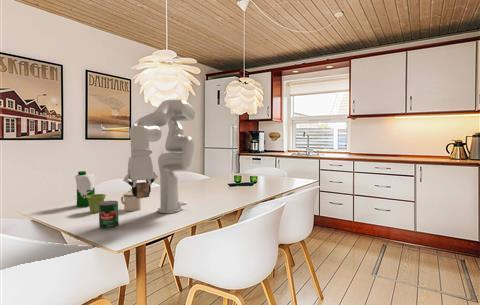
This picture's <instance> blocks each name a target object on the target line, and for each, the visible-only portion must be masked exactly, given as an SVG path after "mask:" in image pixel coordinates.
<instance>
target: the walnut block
mask: <svg viewBox="0 0 480 305" xmlns="http://www.w3.org/2000/svg"><path fill="white" fill-rule="evenodd" d="M136 187H137V196H134V197H136V198H137V199H139V198H141V199H144V198H145V199H146V198H149V197H150V194H149V183H146V181H141V182H136Z"/></svg>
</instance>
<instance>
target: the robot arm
mask: <svg viewBox="0 0 480 305" xmlns="http://www.w3.org/2000/svg"><path fill="white" fill-rule="evenodd" d="M195 116H196V111H195V108H194V107H193V106H192V105H191V104H190V103H189V102H187V101H185V100H184V99H165V100H163V101H162V102H161V103H160V104H159V105H158V106H157V108H156V109H155V110H154V111H153V112H151V113H150V112H149V113H148V114H146V115H143V116H142V117H140V118H138V119H137V120H136V121H135V122H133V124H132V126H131V127H130V129H129V131H128V133H129V134H128V135H129V138H130V157H128V161H127V162H128V163H127V174H126V175H125V177H124V178H123V182H125V183H126V184H128V185H129V186H130V187H131V189H132V194H133V195H134V196H137V187H136V183H138V181H143V180H145V182H146V183H149V195H150V194H151V192H152V191H151V190H152V189H151V186H152V184H153V183H154V182H155V181H156V180H157V178H158V175H157V174H156V173H155V172H154V167H153V166H154V165H153V160H152V157H151V156H150V155H151V154H153V150H150V143H153V142H157V141H160V140H161V138H162V134H163V133H162V129H161V127H164V126H166V125H167V126H168V133H167V137H166V140H165V144H164V149H165V151H166V152H164V153H160V155H159V156H158V158H157V165H158V170H159V192H160V193H159V194H160V195H159V196H160V198H159V199H160V204H159V208H157V212H158V213H159V214H173V213H174V214H175V213H179V212H180V211H181V210H182V206H187V201H179V178H178V174H177V173H176V171H177V172H178V171H179V172H181V171H183V172H184V171H185V172H186V171H188V170H190V168H191V164H192V160H193V155H194V150H195V141H194V139H193V138H192V137H191V136H188V135H184V134H185V130H184V128H183V126H182V125H181V124H180V122H191V121H193V120H194V119H195ZM130 180H131V181H130Z"/></svg>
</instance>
